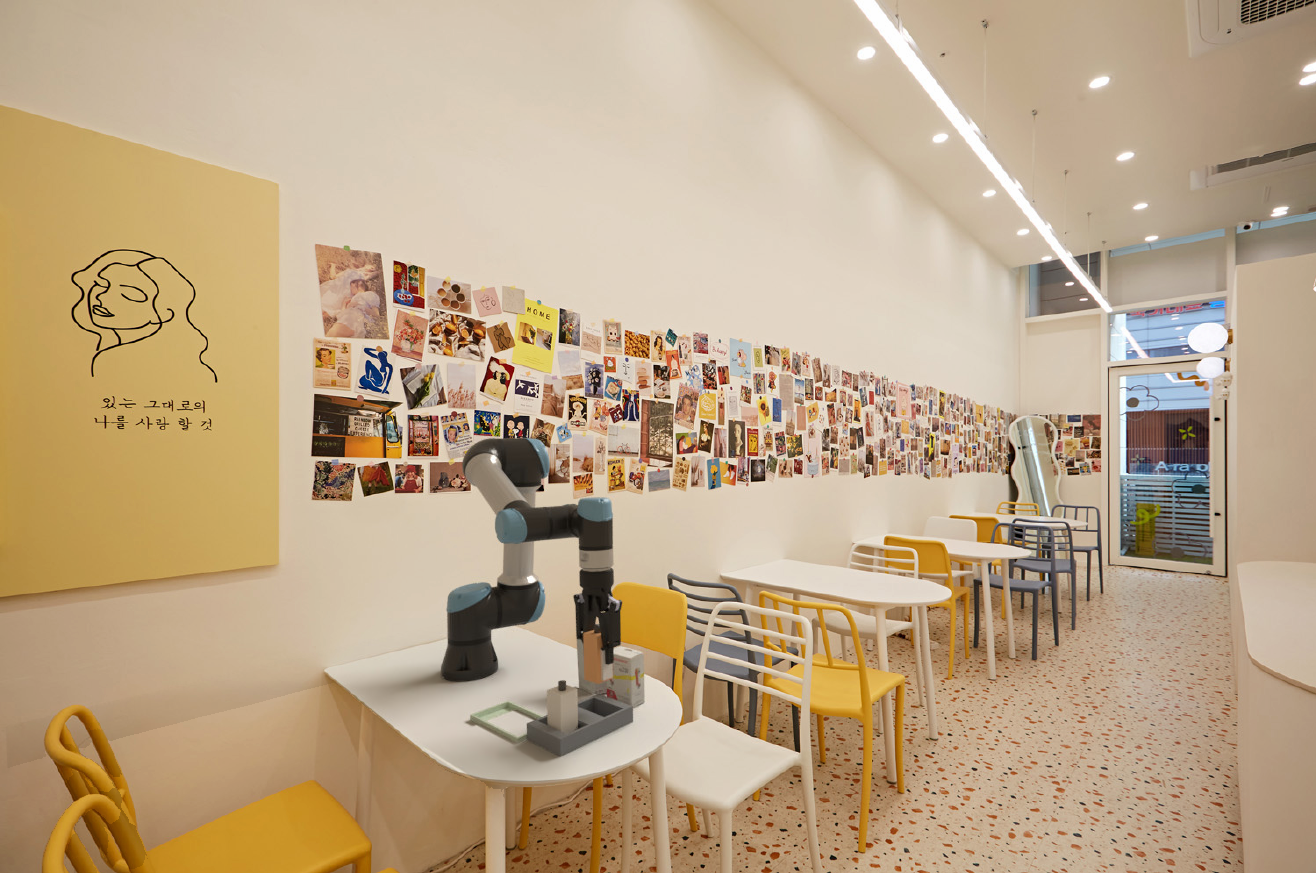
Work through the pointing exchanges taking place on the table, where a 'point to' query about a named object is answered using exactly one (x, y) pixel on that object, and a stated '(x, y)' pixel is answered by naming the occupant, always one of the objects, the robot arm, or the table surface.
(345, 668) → the table surface
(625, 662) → the ink box
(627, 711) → the grey two-slot holder
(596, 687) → the skincare box
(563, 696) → the white knobbed peg block
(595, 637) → the orange knobbed block
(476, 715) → the tray
